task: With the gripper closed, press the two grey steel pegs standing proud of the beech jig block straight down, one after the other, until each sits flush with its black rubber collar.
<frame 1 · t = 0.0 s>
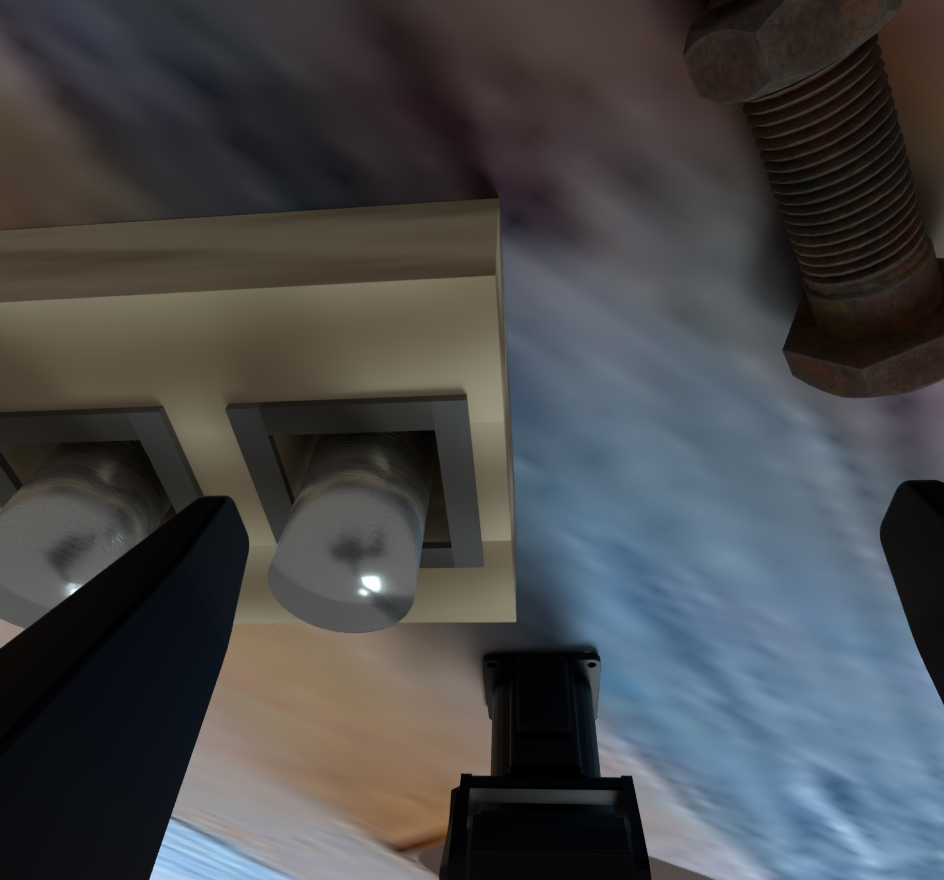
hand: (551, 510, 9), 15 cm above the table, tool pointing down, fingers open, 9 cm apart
peg 2: (84, 519, 21), point 7 cm above the table, slide at 0.0 cm
jig block: (283, 390, 26), on the table
peg 1: (361, 513, 20), point 7 cm above the table, slide at 0.0 cm
bolt: (795, 107, 19), on the table
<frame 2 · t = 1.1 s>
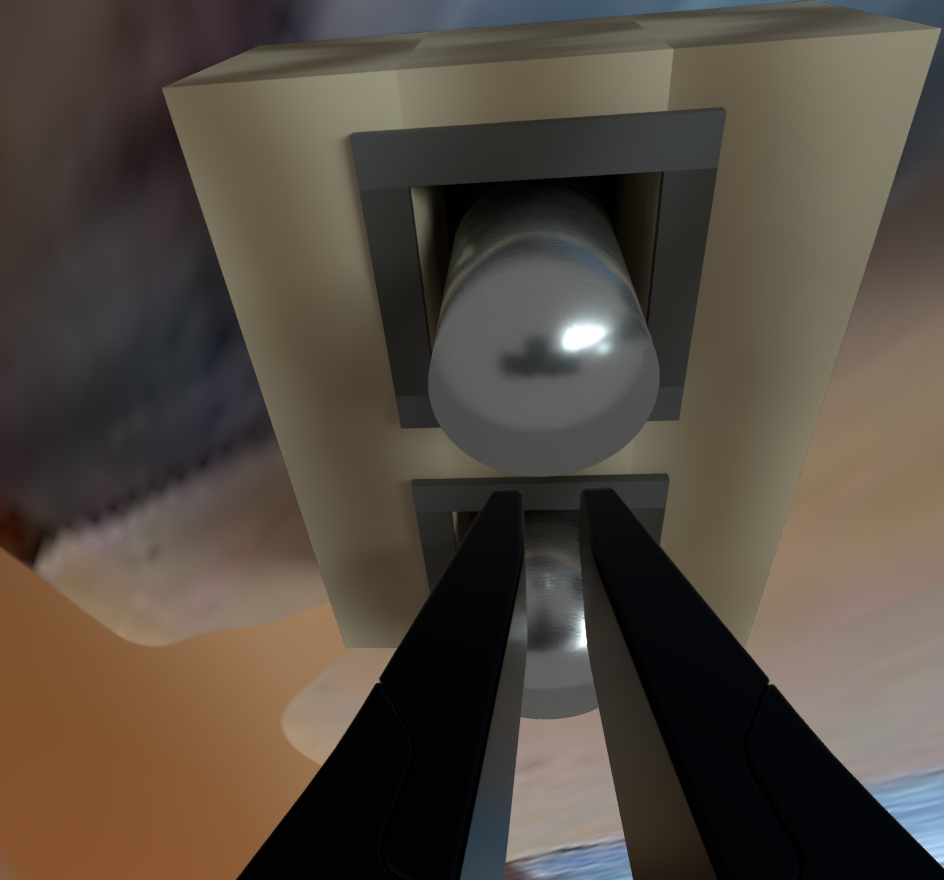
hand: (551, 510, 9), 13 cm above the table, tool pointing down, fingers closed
peg 2: (540, 590, 19), point 7 cm above the table, slide at 0.0 cm
jig block: (531, 337, 22), on the table
peg 1: (537, 313, 14), point 7 cm above the table, slide at 0.0 cm
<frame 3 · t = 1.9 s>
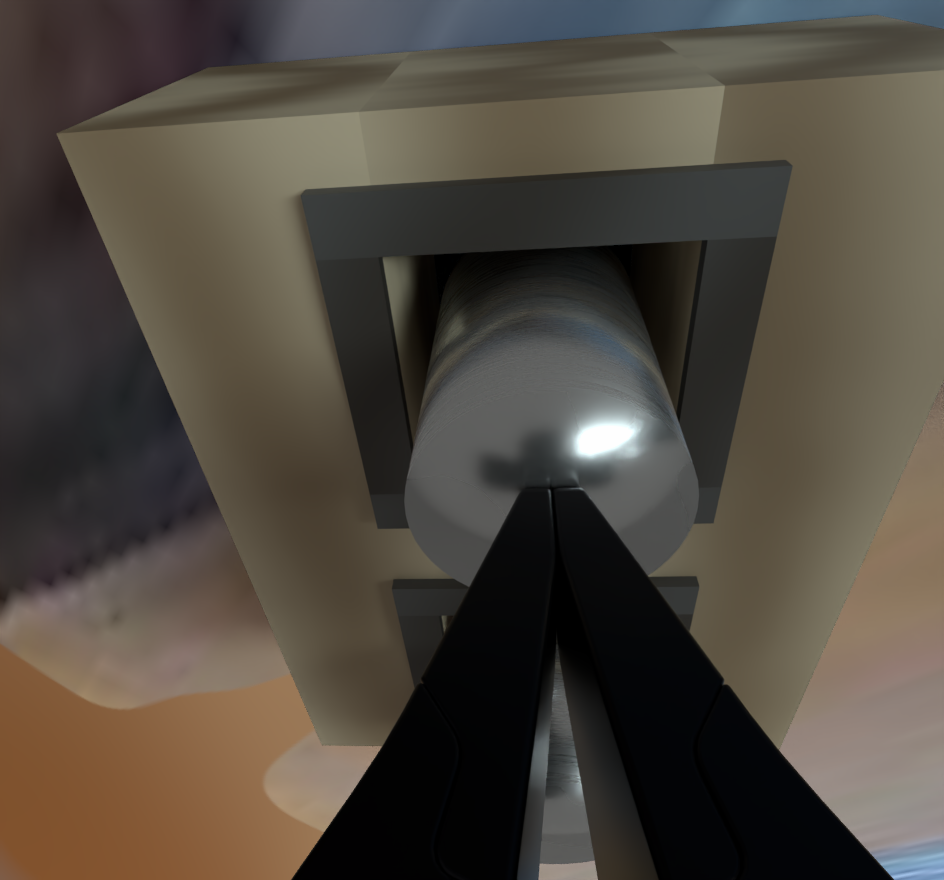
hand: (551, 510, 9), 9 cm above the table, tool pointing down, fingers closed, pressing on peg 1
peg 2: (544, 703, 16), point 7 cm above the table, slide at 0.0 cm
jig block: (534, 396, 19), on the table
peg 1: (541, 394, 11), point 7 cm above the table, slide at 0.6 cm, touching gripper
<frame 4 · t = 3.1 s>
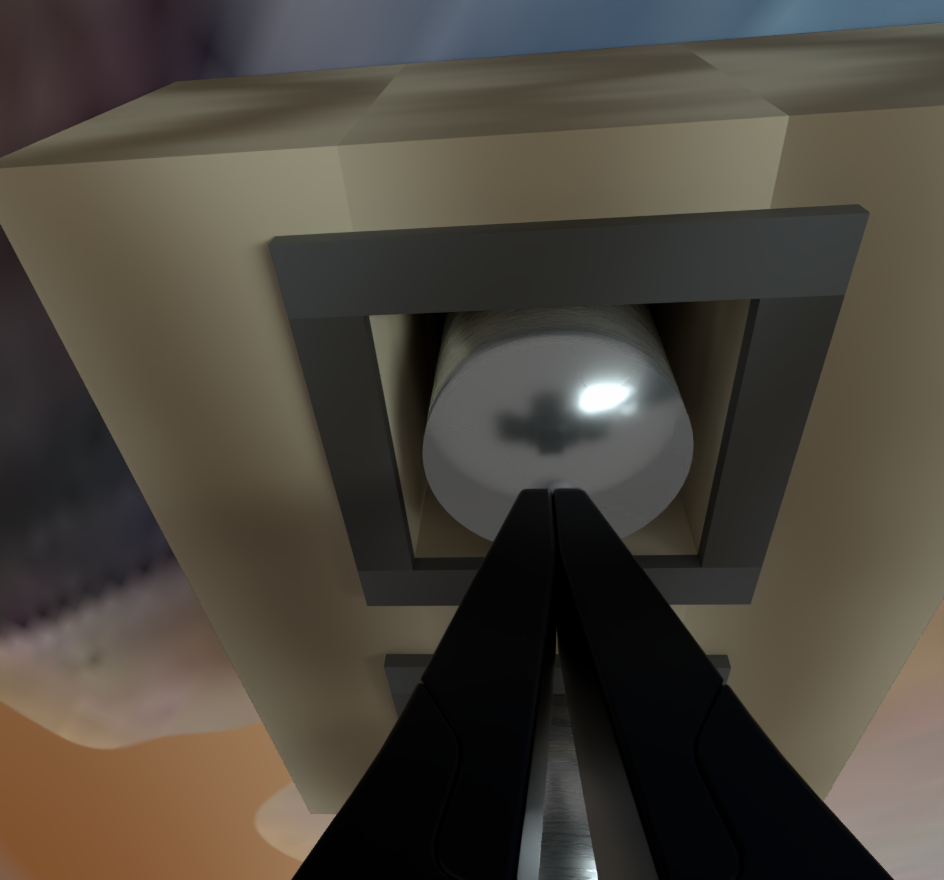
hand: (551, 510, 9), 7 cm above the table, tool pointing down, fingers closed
peg 2: (554, 787, 15), point 7 cm above the table, slide at 0.0 cm
jig block: (542, 437, 17), on the table
peg 1: (547, 361, 12), point 3 cm above the table, slide at 3.6 cm
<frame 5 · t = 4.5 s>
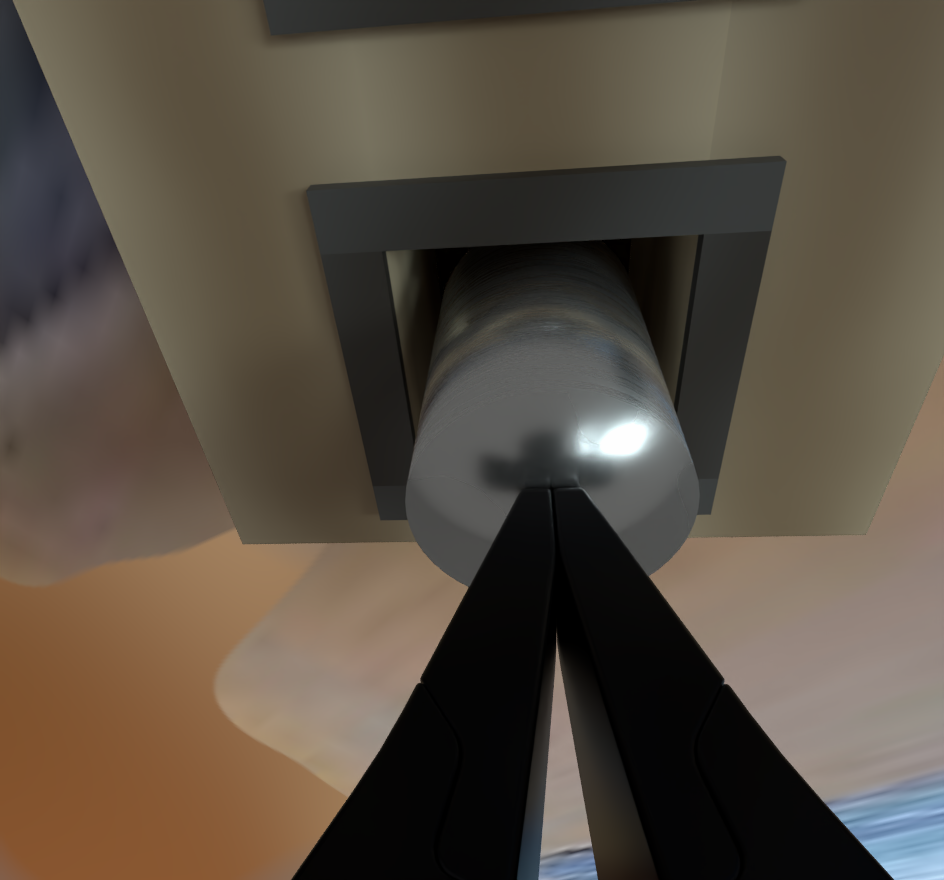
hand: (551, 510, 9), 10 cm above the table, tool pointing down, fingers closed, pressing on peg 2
peg 2: (541, 394, 11), point 7 cm above the table, slide at 0.3 cm, touching gripper
jig block: (528, 41, 14), on the table
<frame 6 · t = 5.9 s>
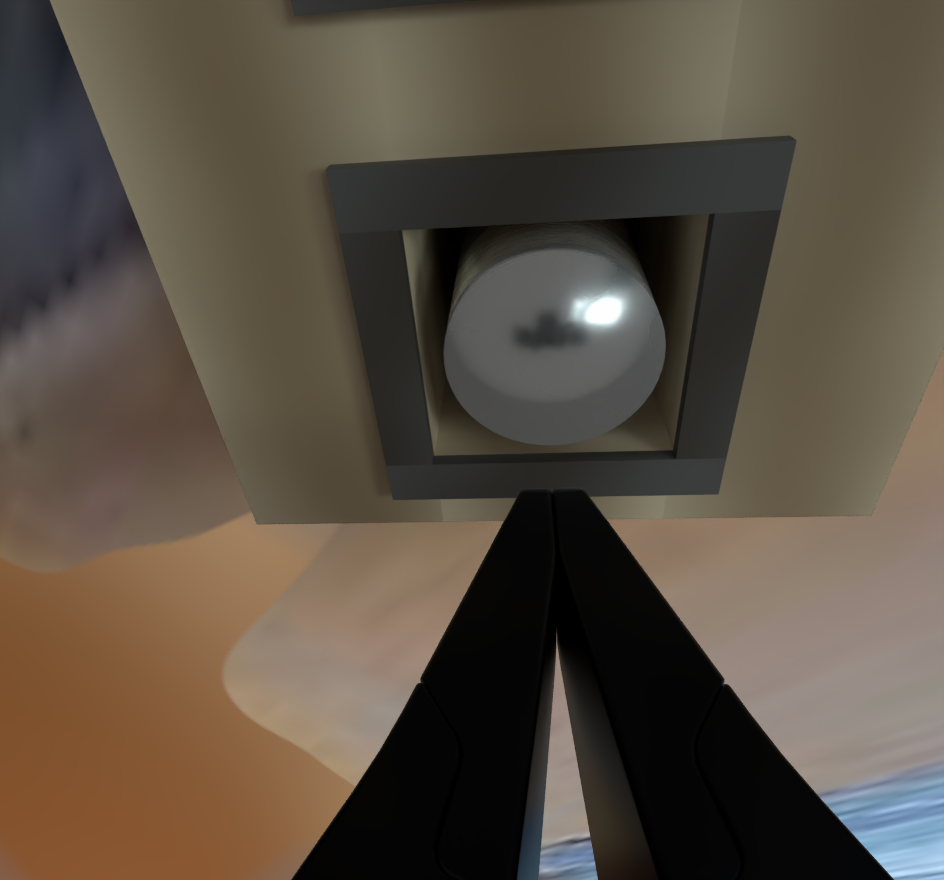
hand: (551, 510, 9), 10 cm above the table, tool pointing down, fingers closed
peg 2: (546, 290, 14), point 3 cm above the table, slide at 3.6 cm
jig block: (540, 28, 14), on the table
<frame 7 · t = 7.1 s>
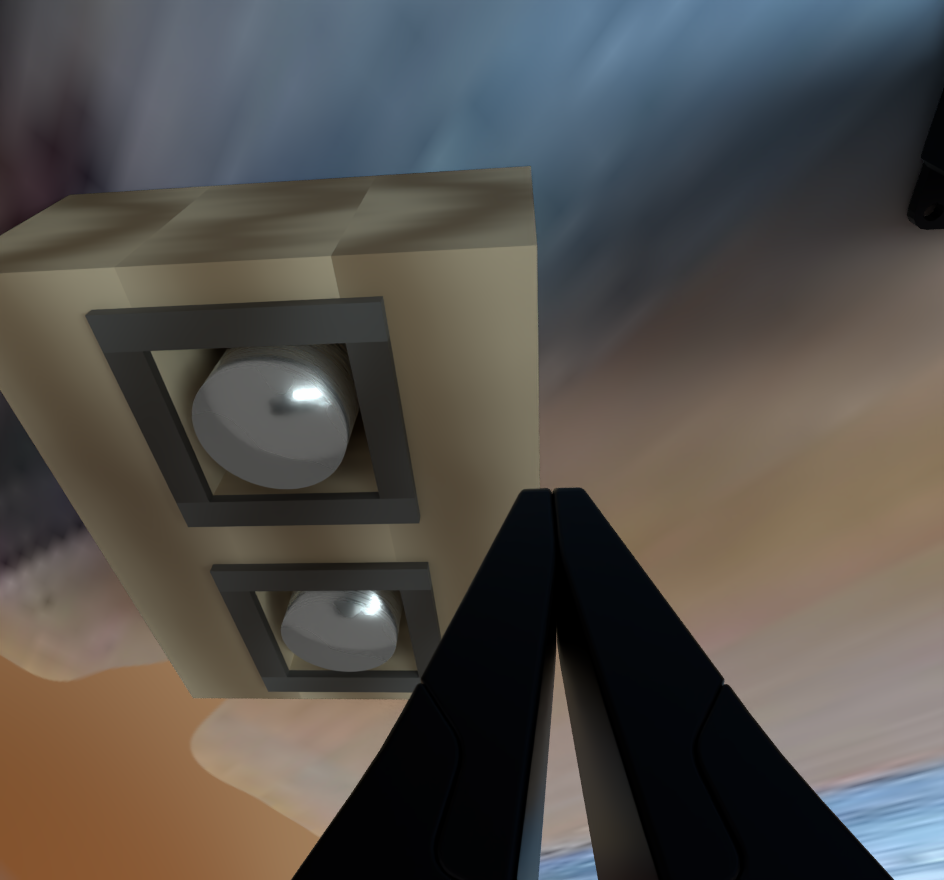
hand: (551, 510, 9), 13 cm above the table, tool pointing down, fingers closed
peg 2: (354, 573, 25), point 3 cm above the table, slide at 3.6 cm
jig block: (350, 424, 25), on the table
peg 1: (298, 373, 19), point 3 cm above the table, slide at 3.6 cm
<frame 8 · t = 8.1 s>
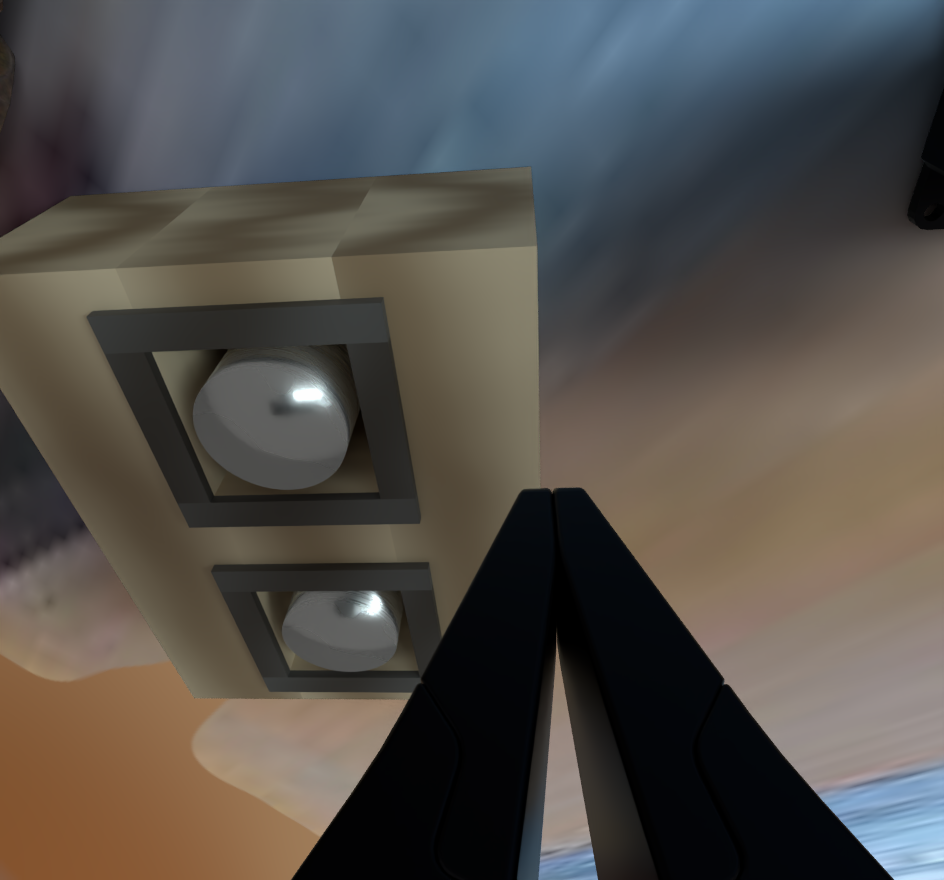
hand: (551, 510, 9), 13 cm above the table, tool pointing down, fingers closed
peg 2: (355, 573, 25), point 3 cm above the table, slide at 3.6 cm
jig block: (351, 425, 25), on the table
peg 1: (299, 373, 19), point 3 cm above the table, slide at 3.6 cm
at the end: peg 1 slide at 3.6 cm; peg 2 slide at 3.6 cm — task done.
